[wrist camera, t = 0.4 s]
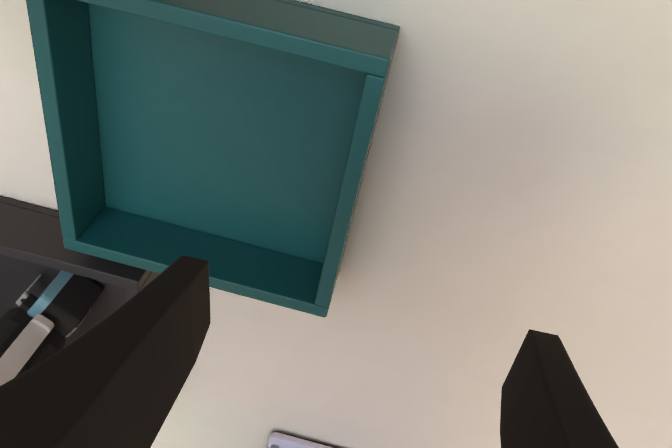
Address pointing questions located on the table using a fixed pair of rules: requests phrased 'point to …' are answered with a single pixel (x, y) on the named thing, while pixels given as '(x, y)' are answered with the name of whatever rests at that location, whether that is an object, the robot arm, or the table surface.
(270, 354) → the table surface
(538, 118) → the table surface
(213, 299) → the table surface
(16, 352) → the push button
